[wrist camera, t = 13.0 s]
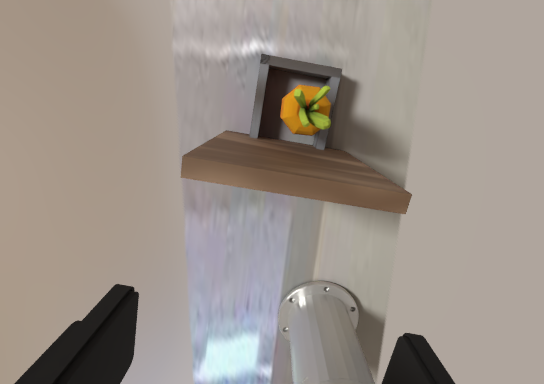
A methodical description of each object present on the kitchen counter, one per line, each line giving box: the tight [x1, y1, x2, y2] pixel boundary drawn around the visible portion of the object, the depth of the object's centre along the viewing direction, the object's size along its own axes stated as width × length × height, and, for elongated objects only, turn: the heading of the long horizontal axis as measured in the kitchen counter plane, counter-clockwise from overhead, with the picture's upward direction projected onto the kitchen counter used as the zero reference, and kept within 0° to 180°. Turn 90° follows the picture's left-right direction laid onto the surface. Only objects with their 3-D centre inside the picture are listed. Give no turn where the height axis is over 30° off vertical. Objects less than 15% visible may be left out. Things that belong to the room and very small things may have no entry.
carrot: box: [280, 85, 331, 136], centre depth 31 cm, size 5×5×15 cm
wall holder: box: [181, 54, 412, 214], centre depth 29 cm, size 11×16×20 cm
